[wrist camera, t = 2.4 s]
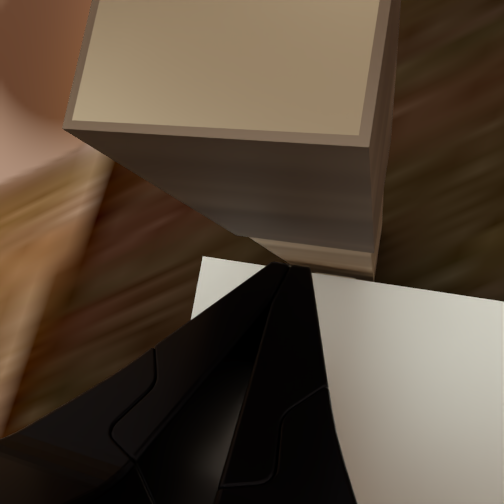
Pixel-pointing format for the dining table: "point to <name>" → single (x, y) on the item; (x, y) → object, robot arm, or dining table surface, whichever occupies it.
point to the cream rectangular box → (405, 385)
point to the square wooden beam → (251, 115)
